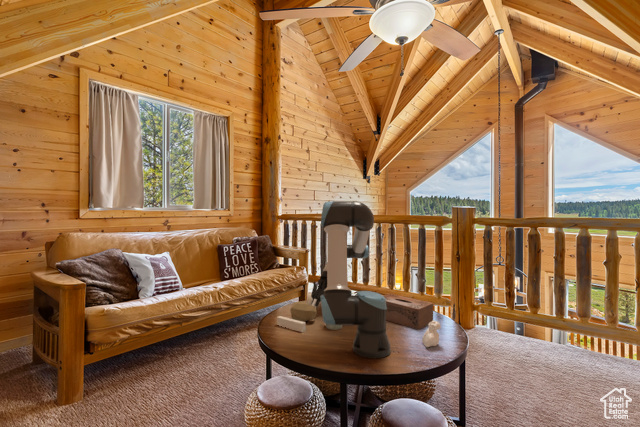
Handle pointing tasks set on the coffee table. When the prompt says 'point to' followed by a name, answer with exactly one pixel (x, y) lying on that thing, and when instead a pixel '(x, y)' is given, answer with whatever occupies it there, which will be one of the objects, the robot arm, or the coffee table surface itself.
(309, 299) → the cream capsule
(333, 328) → the pale green egg
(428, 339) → the bust
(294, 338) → the coffee table surface
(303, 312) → the low-poly potato
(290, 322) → the rail
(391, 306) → the tissue box cover
